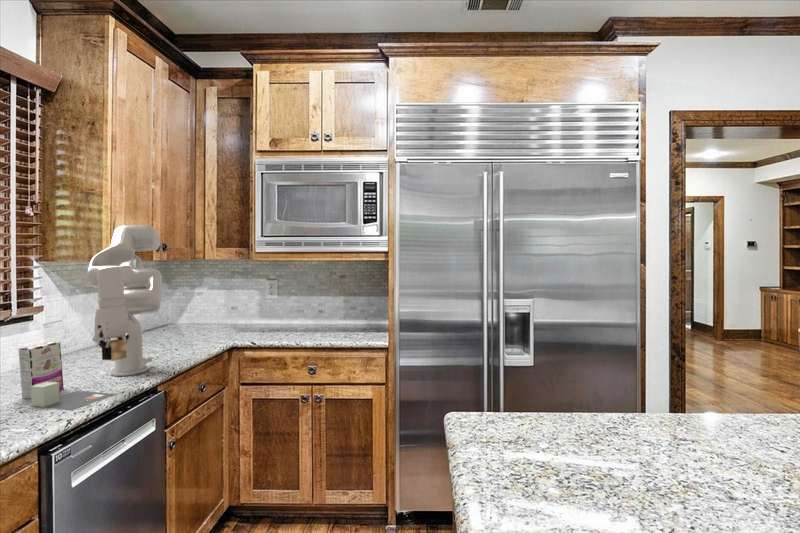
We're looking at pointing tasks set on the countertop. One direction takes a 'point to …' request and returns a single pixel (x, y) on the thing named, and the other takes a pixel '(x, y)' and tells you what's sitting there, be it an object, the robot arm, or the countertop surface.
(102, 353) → the robot arm
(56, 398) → the sage block
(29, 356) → the candy bar box
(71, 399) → the mat
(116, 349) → the oak block
